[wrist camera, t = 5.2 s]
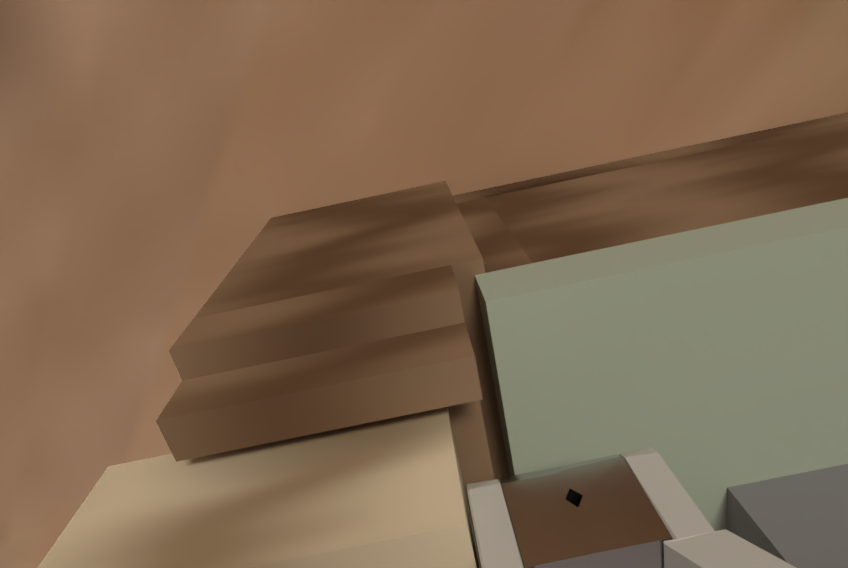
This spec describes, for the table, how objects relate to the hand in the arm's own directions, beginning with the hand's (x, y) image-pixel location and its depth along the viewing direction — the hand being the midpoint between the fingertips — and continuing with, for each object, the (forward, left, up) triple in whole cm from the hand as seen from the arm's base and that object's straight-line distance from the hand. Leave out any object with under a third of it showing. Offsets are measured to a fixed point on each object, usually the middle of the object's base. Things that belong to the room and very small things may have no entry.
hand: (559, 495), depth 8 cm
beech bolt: (+4, 0, -1) cm, 5 cm away
